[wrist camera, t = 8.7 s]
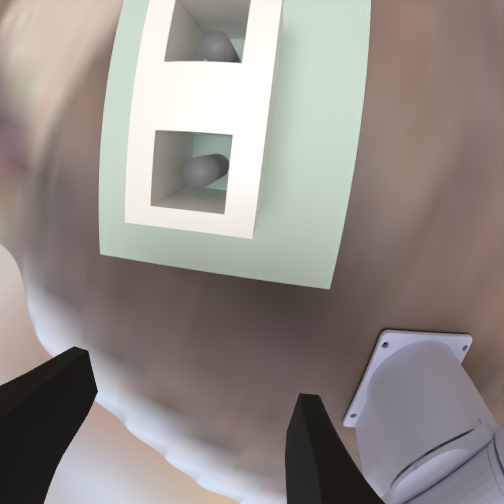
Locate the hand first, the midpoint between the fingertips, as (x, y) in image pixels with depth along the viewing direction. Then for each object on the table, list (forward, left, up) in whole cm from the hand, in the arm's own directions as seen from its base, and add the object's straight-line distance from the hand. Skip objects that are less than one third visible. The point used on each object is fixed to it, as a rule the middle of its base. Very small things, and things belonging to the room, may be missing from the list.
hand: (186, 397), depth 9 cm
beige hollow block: (+9, +1, -8) cm, 12 cm away
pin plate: (+9, +1, -9) cm, 13 cm away
